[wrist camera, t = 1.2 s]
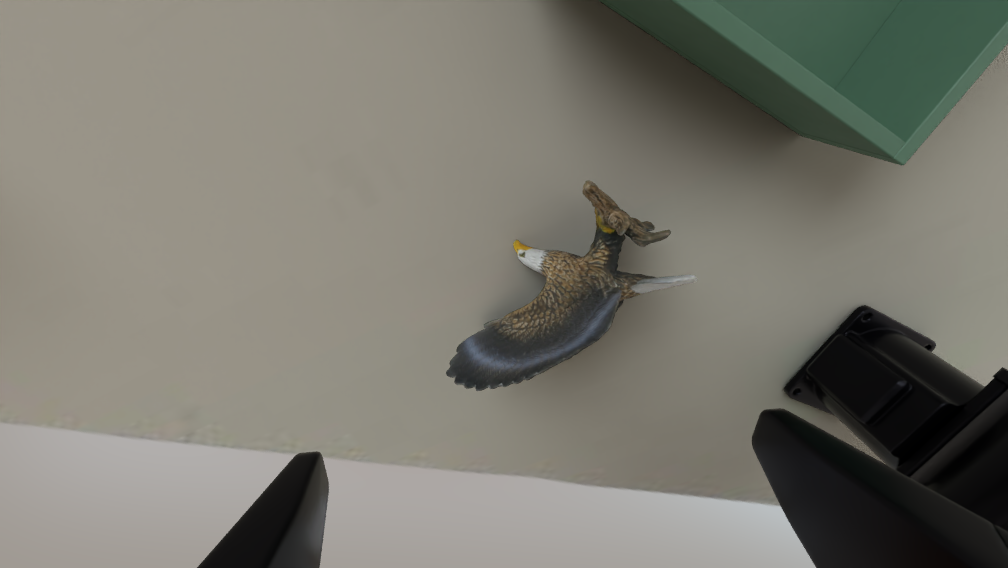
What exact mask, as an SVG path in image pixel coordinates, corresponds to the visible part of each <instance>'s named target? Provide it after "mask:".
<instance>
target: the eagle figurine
mask: <svg viewBox="0 0 1008 568" xmlns="http://www.w3.org/2000/svg"><path fill="white" fill-rule="evenodd" d="M583 194H584V195H585V197H586V198H587V199H588V200H589V201H591V203H592V205H593V206H594V207H595V214H596V225H597V230H596V235H595V240H594V242H593V243H592V245H591V248H590V251H589V252H588V253H587V254H586V255H585V256H584V257H580V256H577V255H574V254H570V253H567V252H562V251H549V250H538V249H535V248H532V247H527V246H525V245H523V244H521V243H520V242H519V241H518V240H516V241H515V242H514V243H513V245H514V249H515V251H516V252H517V254H518V258H519V260H520V261H521V262H522V263H523V264H525V265H526V266H527V267H529V268H530V269H532V270H534V271H537V272H539V273H541V274H542V275H543V276H545V277H546V278H547V280H546V284H545V286H544V288H543V290H542V291H541V293H540V294H539V295H538V297H537V298H536V299H534V300H533V301H532V302H531V303H529V304H528V305H526V306H524V307H522V308H520V309H518V310H516V311H513V312H511V313H509V314H508V315H506V316H505V317H503V318H501V319H497V320H493V321H490V322H488V323H486V324H484V328H485V329H484V330H481V331H480V332H477V333H476V334H474V335H472V336H470V337H469V338H467V339H466V340H465V341H463V342H462V343H461V344H460V345H459V346H458V347H457V353H458V354H456V355H455V356H454V357H453V359H452V360H451V361H450V368H449V369H448V370H447V372H446V374H447V376H449V377H452V378H454V377H455V381H454V383H455V384H456V385H464V387H465V388H466V389H469V388H473V387H475V388H476V391H480V390H484V389H486V388H488V387H489V388H490V389H495V388H497V387H500V386H502V387H506V386H509V385H511V384H518V383H520V382H521V381H523V380H524V379H525V380H530V379H532V378H533V377H534V376H536V375H538V374H541V373H543V372H544V371H546V370H548V369H549V368H551V367H553V366H555V365H557V364H559V363H561V362H562V361H564V360H567V359H569V358H571V357H572V356H573V355H576V354H578V353H579V352H580V351H581V350H583V349H585V348H586V347H588V346H590V345H591V344H593V343H594V342H595V341H597V340H599V339H600V338H601V337H602V336H603V335H604V334H605V333H606V332H607V331H608V330H609V328H610V326H611V324H612V322H613V318H614V315H615V313H616V311H617V310H618V308H619V307H620V306H621V305H622V303H623V301H624V299H627V298H632V297H634V296H637V295H640V294H644V293H646V292H651V291H655V290H660V289H664V288H669V287H675V286H679V285H684V284H689V283H694V282H696V281H697V277H696V276H694V275H681V276H671V277H660V278H656V277H652V276H645V275H642V274H629V273H624V272H620V271H617V267H618V264H617V262H618V258H619V253H620V252H621V247H622V242H623V241H624V239H625V235H624V234H626V235H627V236H628V237H630V238H631V240H632V241H634V242H635V243H636V244H637V245H639V246H642V247H644V246H646V245H648V244H650V243H654V242H657V241H661V240H663V239H665V238H667V237H668V236H669V235H670V234H671V231H670V230H665V231H661V232H656V233H651V232H648V231H652V230H654V229H655V227H654V225H653V224H652V223H651V222H647V221H646V222H640V221H639V220H638V219H636V218H631V217H630V216H629V215H628V214H627V213H626V212H624V211H623V210H621V209H620V208H619V207H618V205H617V204H616V203H615V202H614V201H613V200H612V199H611V198H610V197H609V196H608V195H607V194H605V193H604V192H603V191H601V190H600V189H599V188H598V187H597V185H596V184H595V183H593V182H592V181H586V182H585V184H584V186H583Z"/></svg>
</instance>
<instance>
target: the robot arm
mask: <svg viewBox="0 0 1008 568" xmlns="http://www.w3.org/2000/svg"><path fill="white" fill-rule="evenodd" d="M935 346H936V343H935V342H934V341H932V340H931V339H929V338H928V337H926V336H924V335H922V334H920V333H918V332H916V331H914V330H912V329H911V328H909V327H907V326H905V325H903V324H901V323H899V322H897V321H896V320H894V319H892V318H890V317H888V316H886V315H884V314H882V313H880V312H879V311H877V310H875V309H873V308H871V307H869V306H866V305H864V306H861V307H859V308H857V309H856V310H855V311H854V312H853V313H852V314H851V316H850V317H849V318H848V319H847V320H846V321H845V322H844V323H843V324H842V325H841V326H840V327H839V329H838V330H837V331H836V332H835V333H834V334H833V335H832V336H831V337H830V338H829V339H828V340H827V341H826V343H825V344H824V345H823V346H822V347H821V348H820V349H819V350H818V351H817V352H816V353H815V354H814V356H813V357H812V358H811V359H810V360H809V361H808V362H807V363H806V364H805V365H804V366H803V367H802V368H801V370H800V371H799V372H798V373H797V374H796V375H795V376H794V377H793V378H792V379H791V380H790V381H789V383H788V384H787V385H786V386H785V388H784V391H785V393H786V394H787V395H788V396H789V397H790V398H792V399H795V400H798V401H800V402H803V403H805V404H808V405H810V406H813V407H815V408H818V409H820V410H823V411H825V412H828V413H830V414H833V415H835V416H836V417H837V418H838V419H839V420H840V421H841V422H842V423H844V424H845V425H846V426H847V427H848V428H849V429H850V430H851V431H852V432H853V433H854V434H855V435H856V436H857V437H858V438H859V439H860V440H861V441H862V442H863V443H864V444H865V445H867V446H868V447H869V448H870V449H871V450H872V451H873V452H874V453H875V454H876V455H877V456H878V457H879V458H880V459H881V460H882V461H883V462H884V463H885V464H886V465H885V464H884V463H882V462H880V461H878V460H876V459H875V458H873V457H871V456H869V455H867V454H865V453H864V452H862V451H860V450H858V449H856V448H854V447H853V446H851V445H849V444H847V443H845V442H844V441H842V440H840V439H838V438H836V437H834V436H833V435H831V434H829V433H827V432H825V431H824V430H822V429H820V428H818V427H816V426H814V425H813V424H811V423H809V422H807V421H805V420H803V419H802V418H800V417H798V416H796V415H794V414H793V413H791V412H789V411H787V410H785V409H780V408H779V409H768V410H764V411H763V412H761V414H760V416H759V419H758V422H757V425H756V427H755V430H754V433H753V436H752V445H753V449H754V451H755V453H756V455H757V458H758V460H759V462H760V464H761V466H762V468H763V470H764V472H765V474H766V476H767V478H768V480H769V482H770V485H771V487H772V489H773V491H774V493H775V495H776V497H777V499H778V501H779V503H780V505H781V507H782V509H783V511H784V513H785V515H786V517H787V519H788V521H789V522H790V524H791V526H792V528H793V529H794V531H795V533H796V534H797V536H798V538H799V539H800V541H801V543H802V544H803V546H804V548H805V549H806V551H807V553H808V554H809V556H810V558H811V559H812V561H813V563H814V564H815V566H816V568H1008V370H1007V369H1005V368H1003V367H1002V368H1001V369H1000V370H999V371H998V372H997V373H996V374H995V375H994V376H993V377H994V379H993V380H992V381H991V382H990V383H989V384H988V385H987V386H985V387H984V386H982V385H981V384H979V383H978V382H976V381H975V380H973V379H972V378H970V377H969V376H967V375H965V374H964V373H962V372H961V371H959V370H958V369H956V368H955V367H953V366H952V365H950V364H949V363H947V362H945V361H944V360H942V359H941V358H939V357H938V356H936V355H935V354H933V353H932V351H933V350H934V348H935ZM328 493H329V483H328V477H327V473H326V469H325V465H324V461H323V457H322V455H321V453H320V452H306V453H299V454H297V455H296V456H295V457H294V458H293V459H292V460H291V461H290V462H289V463H288V465H287V466H286V467H285V468H284V469H283V470H282V471H281V473H280V474H279V475H278V476H277V477H276V478H275V479H274V481H273V482H272V483H271V484H270V485H269V486H268V487H267V489H266V490H265V491H264V492H263V493H262V494H261V496H260V497H259V498H258V499H257V500H256V501H255V502H254V503H253V505H252V506H251V507H250V508H249V509H248V511H246V513H245V514H244V515H243V516H242V517H241V518H240V519H239V521H238V522H237V523H236V524H235V525H234V526H233V527H232V529H231V530H230V531H229V532H228V533H227V534H226V536H225V537H224V538H223V539H222V540H221V541H220V542H219V543H218V545H217V546H216V547H215V548H214V549H213V550H212V551H211V552H210V554H209V555H208V556H207V557H206V558H205V560H203V562H202V563H201V564H200V565H199V566H198V567H197V568H319V566H320V559H321V551H322V543H323V535H324V526H325V518H326V510H327V501H328Z"/></svg>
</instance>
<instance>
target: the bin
mask: <svg viewBox="0 0 1008 568" xmlns="http://www.w3.org/2000/svg"><path fill="white" fill-rule="evenodd" d="M599 1H601V2H602V3H604V4H605V5H607V6H608V7H610V8H611V9H613V10H614V11H616V12H617V13H618V14H620V15H621V16H623V17H624V18H626V19H627V20H629V21H630V22H632V23H633V24H635V25H636V26H638V27H639V28H641V29H642V30H644V31H645V32H647V33H648V34H650V35H651V36H653V37H654V38H656V39H657V40H659V41H660V42H662V43H663V44H665V45H666V46H668V47H669V48H671V49H672V50H674V51H675V52H677V53H678V54H680V55H681V56H683V57H684V58H686V59H687V60H689V61H690V62H692V63H693V64H695V65H696V66H698V67H699V68H701V69H702V70H704V71H705V72H707V73H708V74H710V75H711V76H713V77H714V78H716V79H717V80H719V81H720V82H722V83H723V84H725V85H726V86H728V87H729V88H731V89H732V90H734V91H735V92H736V93H738V94H739V95H741V96H742V97H744V98H745V99H747V100H748V101H750V102H751V103H753V104H754V105H756V106H757V107H759V108H760V109H762V110H763V111H765V112H766V113H768V114H769V115H771V116H772V117H774V118H775V119H777V120H778V121H780V122H781V123H783V124H784V125H786V126H787V127H789V128H790V129H792V130H793V131H795V132H796V133H798V134H799V135H801V136H803V137H806V138H811V139H813V140H817V141H820V142H823V143H827V144H830V145H834V146H837V147H841V148H844V149H847V150H851V151H854V152H858V153H861V154H864V155H868V156H871V157H875V158H878V159H882V160H885V161H888V162H892V163H895V164H899V165H904V164H905V163H906V162H907V161H908V160H909V159H910V158H911V156H912V155H913V154H914V153H915V152H916V150H917V149H918V148H919V147H920V146H921V145H922V143H923V142H924V141H925V140H926V139H927V138H928V136H929V135H930V134H931V133H932V132H933V131H934V129H935V128H936V127H937V126H938V125H939V123H940V122H941V121H942V120H943V119H944V118H945V116H946V115H947V114H948V113H949V112H950V111H951V109H952V108H953V107H954V106H955V105H956V104H957V102H958V101H959V100H960V99H961V98H962V96H963V95H964V94H965V93H966V92H967V91H968V89H969V88H970V87H971V86H972V85H973V84H974V82H975V81H976V80H977V79H978V78H979V76H980V75H981V74H982V73H983V72H984V71H985V69H986V68H987V67H988V66H989V65H990V64H991V62H992V61H993V60H994V59H995V58H996V57H997V55H998V54H999V53H1000V52H1001V51H1002V49H1003V48H1004V47H1005V46H1006V45H1007V44H1008V0H599Z"/></svg>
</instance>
